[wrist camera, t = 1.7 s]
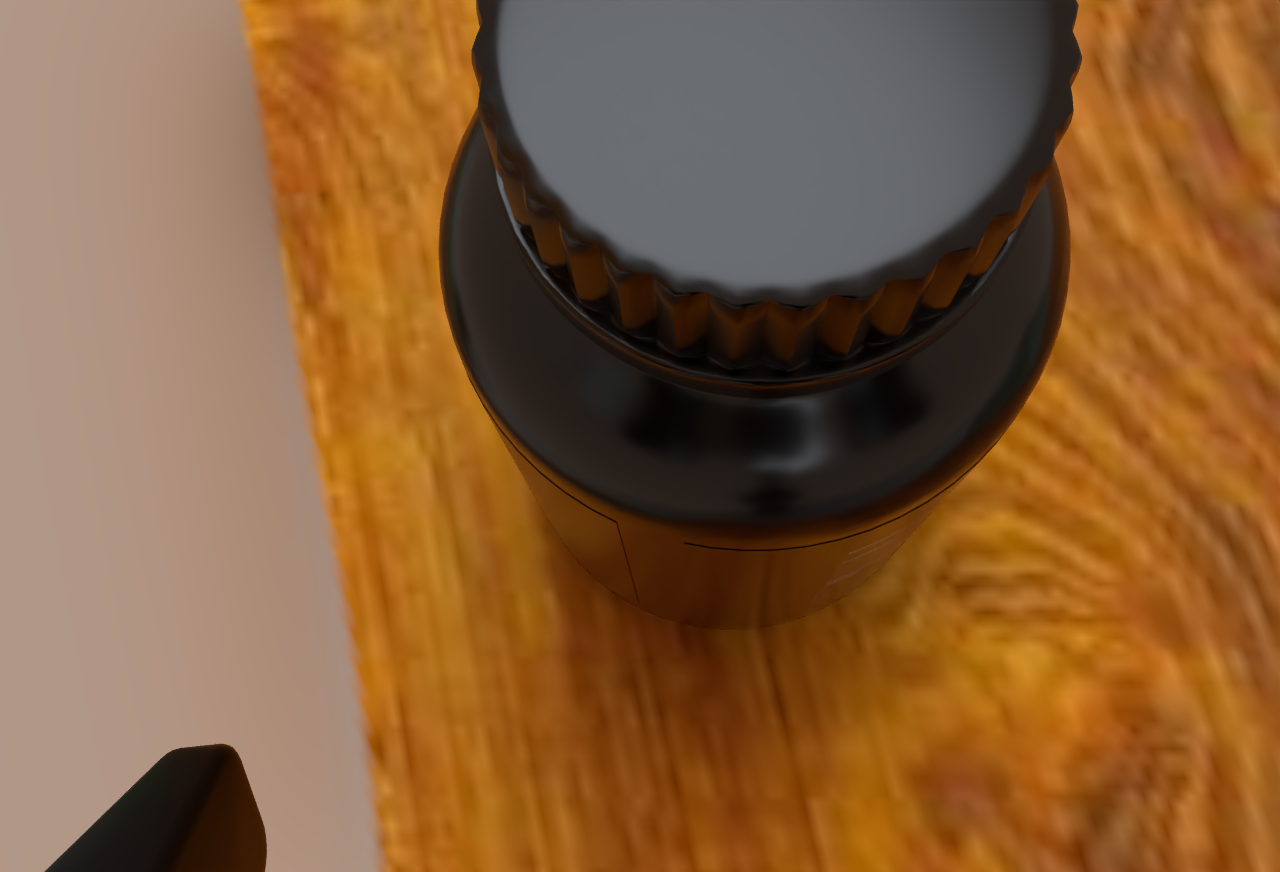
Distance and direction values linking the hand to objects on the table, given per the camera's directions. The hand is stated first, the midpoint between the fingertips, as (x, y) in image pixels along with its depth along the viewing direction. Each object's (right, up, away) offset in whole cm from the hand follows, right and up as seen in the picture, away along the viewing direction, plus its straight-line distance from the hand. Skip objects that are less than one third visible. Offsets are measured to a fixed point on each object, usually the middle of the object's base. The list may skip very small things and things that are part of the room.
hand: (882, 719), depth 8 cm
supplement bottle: (0, +2, +13) cm, 13 cm away
